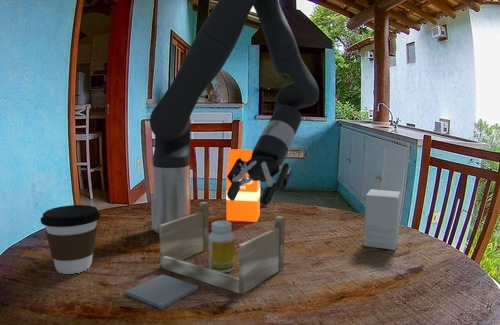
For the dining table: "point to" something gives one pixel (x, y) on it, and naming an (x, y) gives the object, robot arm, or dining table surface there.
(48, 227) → the coffee cup
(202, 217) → the grey open box frame
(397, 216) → the supplement box
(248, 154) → the orange juice
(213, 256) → the supplement bottle
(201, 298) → the dining table surface
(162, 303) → the mat
